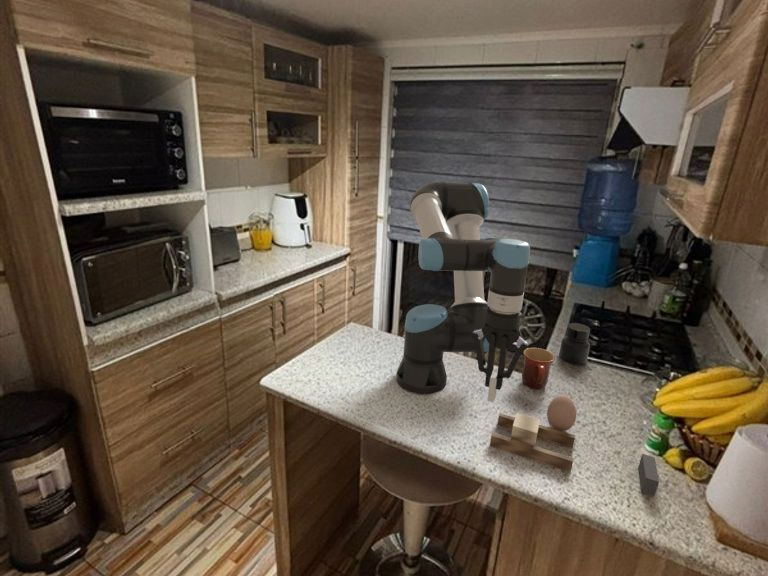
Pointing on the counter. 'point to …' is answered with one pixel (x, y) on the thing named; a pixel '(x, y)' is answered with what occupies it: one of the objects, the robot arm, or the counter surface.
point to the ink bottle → (575, 344)
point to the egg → (561, 413)
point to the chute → (533, 451)
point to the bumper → (648, 475)
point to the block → (525, 429)
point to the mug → (536, 368)
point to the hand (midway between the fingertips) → (491, 398)
